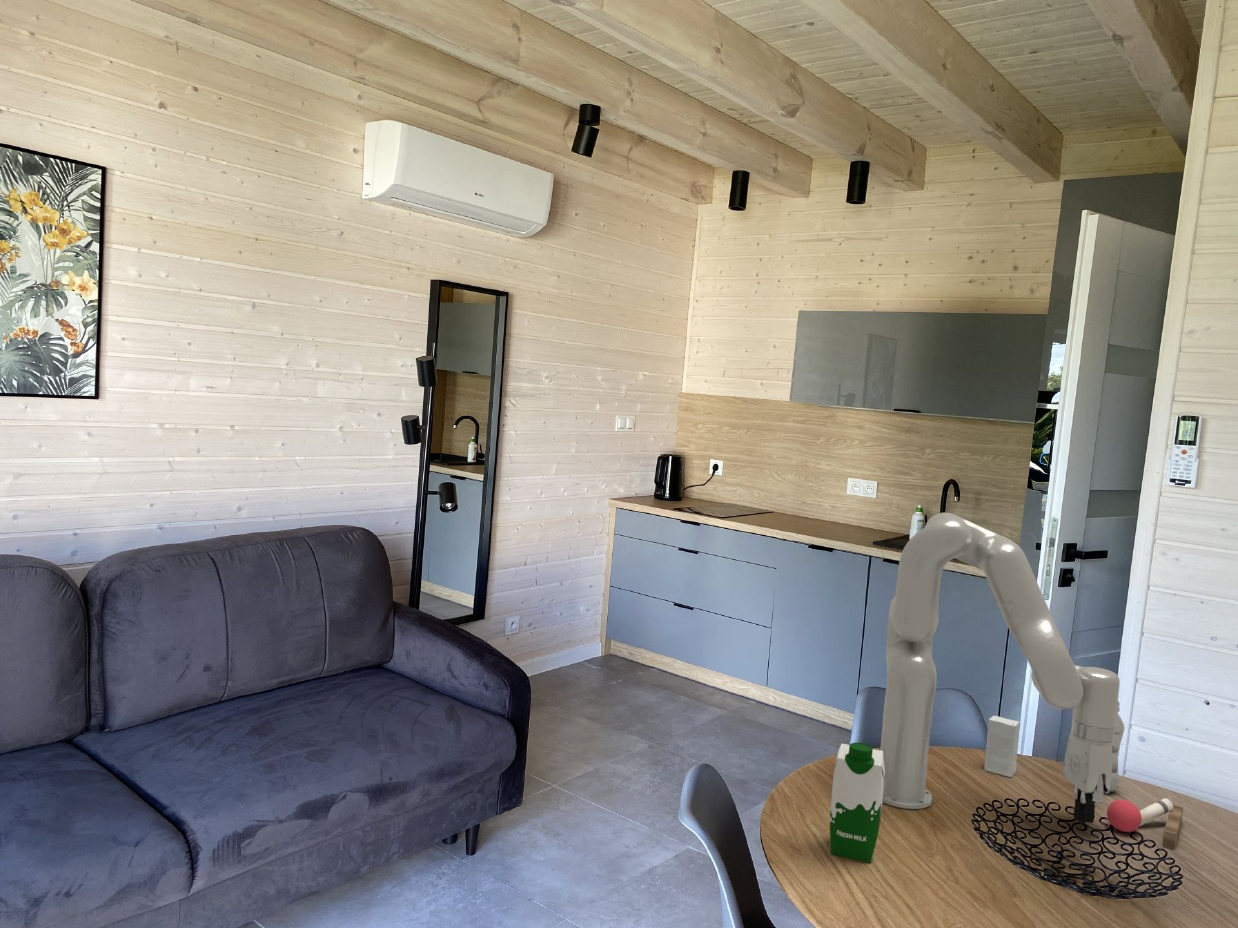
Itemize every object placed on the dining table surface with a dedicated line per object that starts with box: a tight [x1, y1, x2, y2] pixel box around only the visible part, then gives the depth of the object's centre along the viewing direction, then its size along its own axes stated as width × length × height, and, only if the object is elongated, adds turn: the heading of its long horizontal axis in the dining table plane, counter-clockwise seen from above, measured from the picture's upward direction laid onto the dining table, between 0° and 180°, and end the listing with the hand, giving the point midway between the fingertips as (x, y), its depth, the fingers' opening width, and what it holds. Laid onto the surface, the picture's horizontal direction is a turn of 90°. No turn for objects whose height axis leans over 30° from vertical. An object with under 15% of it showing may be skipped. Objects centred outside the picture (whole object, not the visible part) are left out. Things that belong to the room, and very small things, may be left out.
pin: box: [1139, 797, 1174, 827], centre depth 180 cm, size 2×2×9 cm
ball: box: [1106, 799, 1142, 833], centre depth 177 cm, size 6×6×6 cm
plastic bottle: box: [1109, 701, 1125, 793], centre depth 196 cm, size 6×7×20 cm
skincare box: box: [983, 715, 1021, 778], centre depth 203 cm, size 6×4×12 cm
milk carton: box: [829, 742, 885, 864], centre depth 161 cm, size 9×9×20 cm
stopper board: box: [1162, 804, 1184, 851], centre depth 177 cm, size 16×2×3 cm, turn 143°
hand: (1083, 820), depth 177 cm, fingers closed
